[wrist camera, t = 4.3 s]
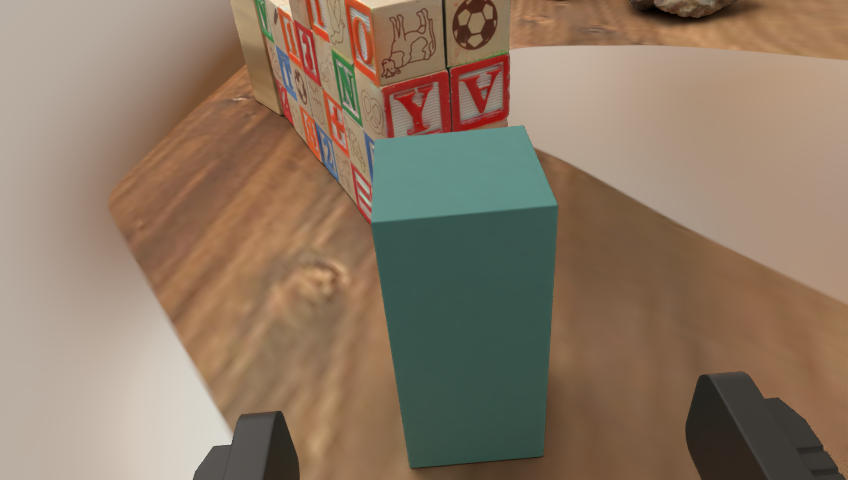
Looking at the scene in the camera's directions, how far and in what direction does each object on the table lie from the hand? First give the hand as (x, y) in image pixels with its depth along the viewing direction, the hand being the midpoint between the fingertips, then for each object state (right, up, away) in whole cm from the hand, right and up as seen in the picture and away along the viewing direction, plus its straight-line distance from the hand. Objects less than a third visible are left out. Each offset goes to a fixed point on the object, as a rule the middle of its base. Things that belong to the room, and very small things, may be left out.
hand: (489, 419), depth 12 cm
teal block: (0, -3, +10) cm, 11 cm away
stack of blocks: (-4, +8, +26) cm, 28 cm away
